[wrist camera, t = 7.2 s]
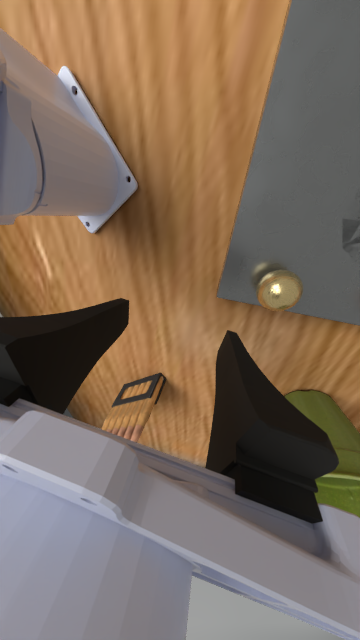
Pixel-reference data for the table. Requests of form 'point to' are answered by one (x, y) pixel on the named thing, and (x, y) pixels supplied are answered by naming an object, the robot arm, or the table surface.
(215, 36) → the table surface
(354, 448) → the plant pot
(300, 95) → the hole plate
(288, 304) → the brass ball
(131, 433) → the ammunition clip
